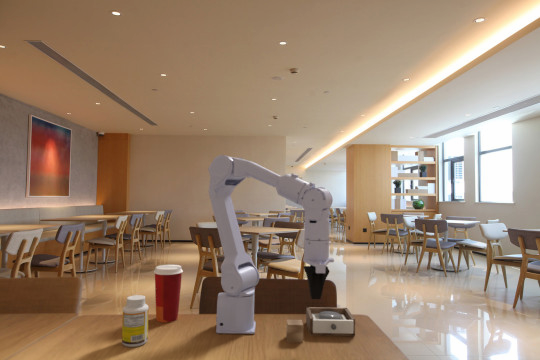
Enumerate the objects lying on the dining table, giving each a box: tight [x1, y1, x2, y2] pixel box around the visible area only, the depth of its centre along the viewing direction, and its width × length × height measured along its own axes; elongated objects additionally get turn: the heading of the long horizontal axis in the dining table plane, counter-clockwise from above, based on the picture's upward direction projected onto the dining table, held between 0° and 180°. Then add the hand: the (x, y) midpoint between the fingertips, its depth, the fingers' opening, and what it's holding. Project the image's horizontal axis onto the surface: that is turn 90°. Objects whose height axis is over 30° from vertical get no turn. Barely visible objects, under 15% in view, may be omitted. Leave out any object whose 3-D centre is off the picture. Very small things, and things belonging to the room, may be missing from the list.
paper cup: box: [153, 264, 184, 324], centre depth 101 cm, size 8×8×14 cm
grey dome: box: [319, 311, 341, 320], centre depth 96 cm, size 6×6×2 cm
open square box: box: [305, 306, 356, 337], centre depth 96 cm, size 11×9×4 cm
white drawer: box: [312, 313, 354, 334], centre depth 95 cm, size 10×10×3 cm
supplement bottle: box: [121, 294, 149, 348], centre depth 85 cm, size 6×6×10 cm
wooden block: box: [286, 319, 304, 343], centre depth 88 cm, size 4×4×4 cm
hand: (315, 298), depth 86 cm, fingers closed
